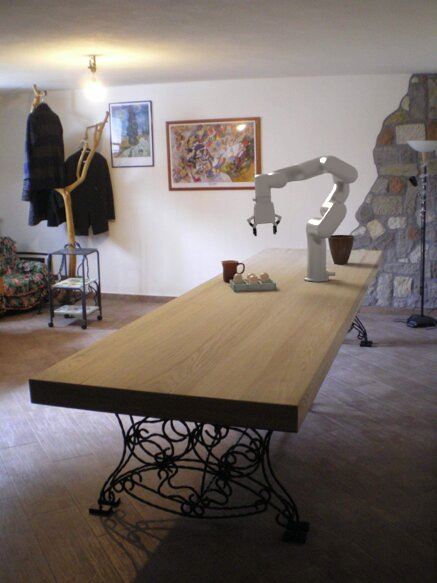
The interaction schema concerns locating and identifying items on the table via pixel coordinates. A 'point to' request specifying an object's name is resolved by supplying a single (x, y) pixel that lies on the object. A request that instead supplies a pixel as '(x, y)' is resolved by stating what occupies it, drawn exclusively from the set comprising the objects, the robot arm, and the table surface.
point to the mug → (230, 269)
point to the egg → (253, 279)
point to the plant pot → (340, 248)
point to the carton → (243, 284)
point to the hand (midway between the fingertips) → (265, 235)
